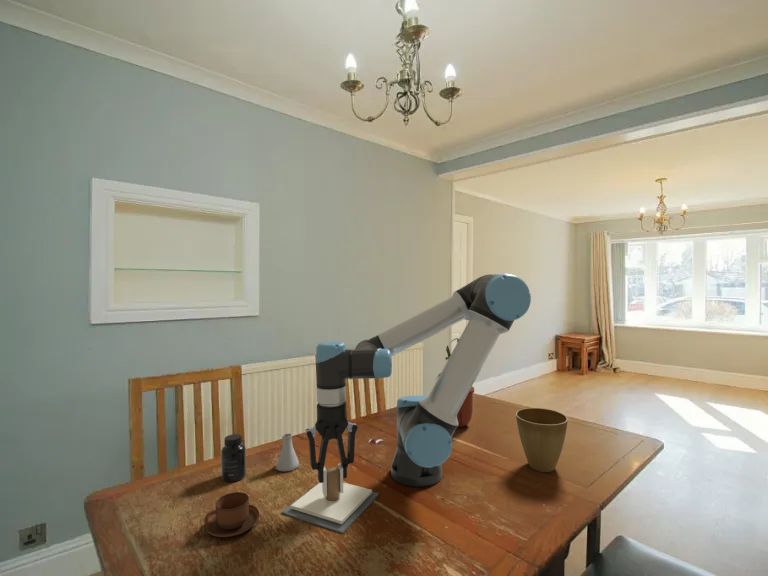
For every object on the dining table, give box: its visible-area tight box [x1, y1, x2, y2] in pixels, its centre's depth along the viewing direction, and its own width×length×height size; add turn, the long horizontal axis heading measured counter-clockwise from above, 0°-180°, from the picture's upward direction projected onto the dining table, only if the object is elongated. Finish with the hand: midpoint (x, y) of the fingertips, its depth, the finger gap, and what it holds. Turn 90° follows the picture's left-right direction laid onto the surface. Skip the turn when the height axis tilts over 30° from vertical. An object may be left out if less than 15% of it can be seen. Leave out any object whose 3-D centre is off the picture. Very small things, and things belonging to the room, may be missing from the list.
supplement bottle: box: [220, 433, 247, 483], centre depth 115 cm, size 7×7×12 cm
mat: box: [281, 481, 380, 534], centre depth 101 cm, size 18×18×1 cm
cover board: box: [290, 466, 373, 524], centre depth 101 cm, size 15×15×8 cm
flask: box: [275, 432, 300, 472], centre depth 122 cm, size 7×7×10 cm
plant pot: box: [515, 407, 569, 473], centre depth 121 cm, size 15×15×16 cm
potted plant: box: [435, 337, 475, 428], centre depth 158 cm, size 17×16×35 cm
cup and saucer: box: [203, 491, 260, 538], centre depth 92 cm, size 12×12×6 cm
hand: (332, 491), depth 101 cm, fingers closed on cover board, 3 cm apart
